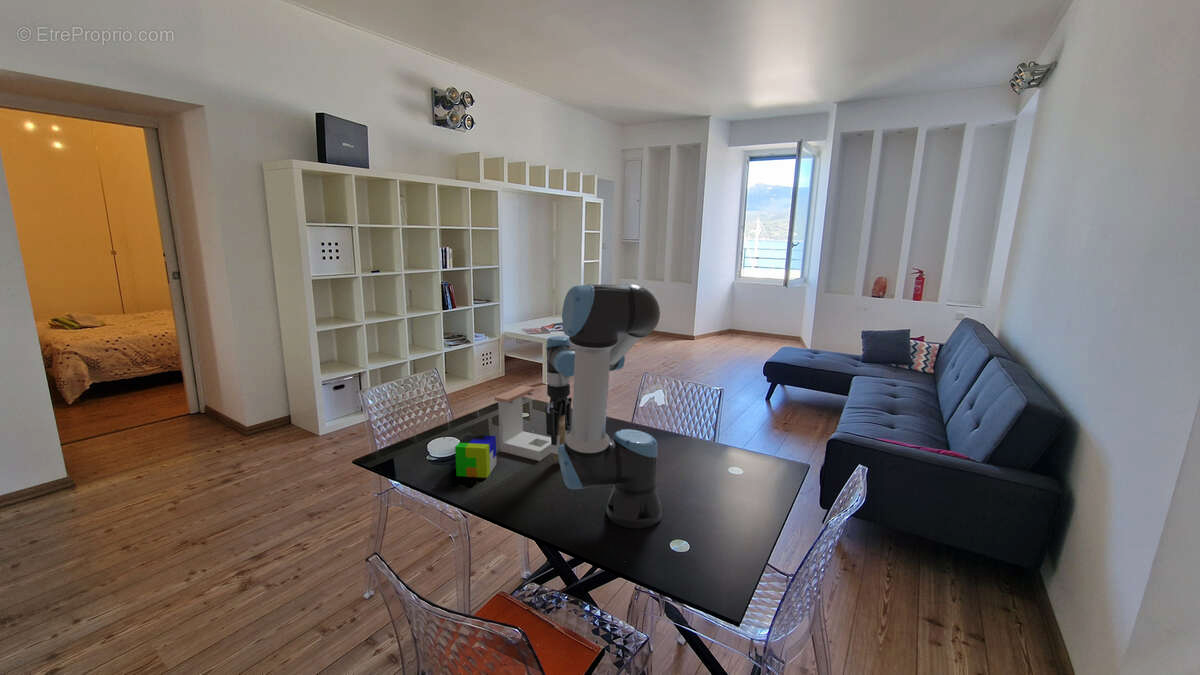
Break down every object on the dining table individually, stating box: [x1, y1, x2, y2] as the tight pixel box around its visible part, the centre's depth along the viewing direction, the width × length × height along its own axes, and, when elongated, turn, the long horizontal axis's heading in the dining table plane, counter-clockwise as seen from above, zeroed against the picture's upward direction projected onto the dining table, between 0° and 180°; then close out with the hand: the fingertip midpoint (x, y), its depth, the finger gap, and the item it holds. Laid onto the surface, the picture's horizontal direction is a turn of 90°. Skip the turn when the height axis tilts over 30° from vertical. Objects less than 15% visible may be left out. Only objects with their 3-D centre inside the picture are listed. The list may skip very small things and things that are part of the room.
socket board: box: [499, 430, 553, 462], centre depth 176 cm, size 12×17×4 cm
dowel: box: [552, 414, 565, 462], centre depth 164 cm, size 4×4×15 cm
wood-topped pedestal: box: [494, 385, 535, 443], centre depth 177 cm, size 16×6×17 cm, turn 153°
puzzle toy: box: [454, 434, 497, 479], centre depth 160 cm, size 10×10×10 cm
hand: (559, 450), depth 165 cm, fingers closed on dowel, 4 cm apart
